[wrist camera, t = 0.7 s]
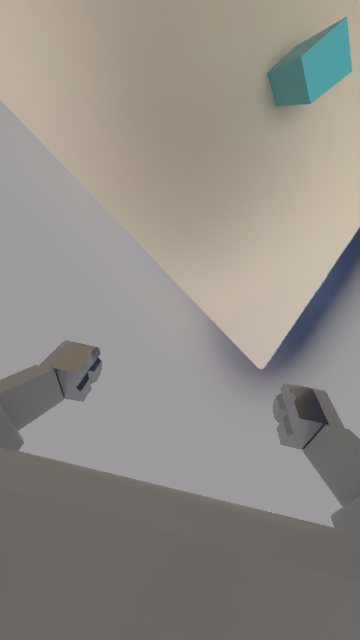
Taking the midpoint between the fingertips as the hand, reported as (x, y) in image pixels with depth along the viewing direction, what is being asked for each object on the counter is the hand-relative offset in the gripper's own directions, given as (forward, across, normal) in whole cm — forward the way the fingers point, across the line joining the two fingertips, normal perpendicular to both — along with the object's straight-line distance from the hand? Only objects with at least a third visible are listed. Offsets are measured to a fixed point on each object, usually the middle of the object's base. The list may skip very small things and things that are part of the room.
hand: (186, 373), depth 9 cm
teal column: (+44, -7, -22) cm, 50 cm away
